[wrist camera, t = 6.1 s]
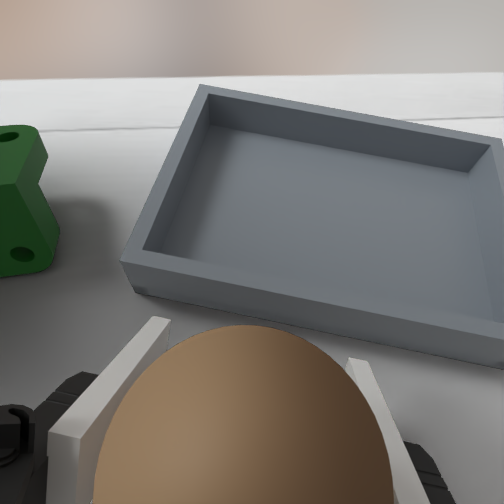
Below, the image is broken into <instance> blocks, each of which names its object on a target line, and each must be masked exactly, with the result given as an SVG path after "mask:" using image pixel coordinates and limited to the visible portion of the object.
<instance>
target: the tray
mask: <svg viewBox="0 0 504 504" xmlns="http://www.w3.org/2000/svg"><path fill="white" fill-rule="evenodd" d="M119 261H120V263H121V265H122V267H123V269H124V271H125V273H126V275H127V277H128V279H129V281H130V283H131V285H132V287H133V289H134V291H135V292H136V293H141V294H146V295H151V296H155V297H160V298H165V299H170V300H174V301H179V302H184V303H189V304H193V305H198V306H203V307H208V308H212V309H217V310H222V311H227V312H232V313H236V314H241V315H246V316H251V317H255V318H260V319H265V320H270V321H274V322H279V323H284V324H289V325H294V326H298V327H303V328H308V329H313V330H317V331H322V332H327V333H332V334H336V335H341V336H346V337H351V338H356V339H360V340H365V341H370V342H375V343H379V344H384V345H389V346H394V347H398V348H403V349H408V350H413V351H418V352H422V353H427V354H432V355H437V356H441V357H446V358H451V359H456V360H460V361H465V362H470V363H475V364H480V365H484V366H489V367H494V368H499V369H503V370H504V147H503V143H502V139H500V138H494V137H489V136H483V135H478V134H472V133H467V132H461V131H456V130H450V129H445V128H439V127H434V126H428V125H423V124H417V123H412V122H406V121H401V120H395V119H390V118H384V117H379V116H373V115H368V114H362V113H357V112H351V111H346V110H340V109H335V108H329V107H324V106H318V105H313V104H307V103H302V102H296V101H291V100H285V99H280V98H274V97H269V96H263V95H258V94H252V93H247V92H241V91H236V90H230V89H225V88H219V87H214V86H208V85H203V84H200V85H199V87H198V89H197V91H196V94H195V96H194V98H193V100H192V102H191V105H190V107H189V109H188V111H187V113H186V116H185V118H184V120H183V122H182V124H181V126H180V129H179V131H178V133H177V135H176V137H175V140H174V142H173V144H172V146H171V148H170V151H169V153H168V155H167V157H166V159H165V161H164V164H163V166H162V168H161V170H160V172H159V175H158V177H157V179H156V181H155V183H154V186H153V188H152V190H151V192H150V194H149V196H148V199H147V201H146V203H145V205H144V207H143V210H142V212H141V214H140V216H139V218H138V221H137V223H136V225H135V227H134V229H133V232H132V234H131V236H130V238H129V240H128V242H127V245H126V247H125V249H124V251H123V253H122V256H121V258H120V260H119Z"/></svg>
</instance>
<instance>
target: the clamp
mask: <svg viewBox="0 0 504 504" xmlns="http://www.w3.org/2000/svg"><path fill="white" fill-rule="evenodd" d="M47 159H48V154H47V151H46V149H45V147H44V144H43V142H42V140H41V137H40V135H39V133H38V130H37V129H36V128H34V127H32V126H28V125H8V126H0V277H5V276H13V275H20V274H28V273H35V272H40V271H42V270H45V269H46V268H48V267H49V266H50V265H51V263H52V261H53V257H54V253H55V249H56V246H57V242H58V238H59V234H60V229H59V226H58V224H57V222H56V220H55V218H54V216H53V214H52V211H51V209H50V207H49V205H48V203H47V201H46V199H45V197H44V195H43V193H42V191H41V189H40V187H39V185H38V182H39V180H40V177H41V175H42V172H43V169H44V167H45V164H46V161H47Z"/></svg>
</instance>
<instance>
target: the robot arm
mask: <svg viewBox="0 0 504 504" xmlns="http://www.w3.org/2000/svg"><path fill="white" fill-rule="evenodd" d="M170 324H171V319H166V318H162V317H157V316H152V317H151V318H150V320H149V321H148V322H147V323H146V324H145V325H144V326H143V327H142V328H141V329H140V331H139V332H138V333H137V334H136V335H135V336H134V337H133V338H132V339H131V340H130V342H129V343H128V344H127V345H126V346H125V347H124V348H123V349H122V350H121V351H120V353H119V354H118V355H117V356H116V357H115V358H114V359H113V360H112V361H111V363H110V364H109V365H108V366H107V367H106V368H105V369H104V370H103V371H102V372H101V374H100V375H96V374H91V373H87V372H80V373H78V374H76V375H74V376H72V377H70V378H68V379H66V380H65V381H64V382H63V383H62V384H61V385H60V386H59V387H58V388H57V389H56V391H55V392H53V393H52V394H51V395H50V396H49V397H48V398H47V399H46V401H44V402H42V403H41V404H40V405H39V406H38V407H37V408H36V409H35V410H34V411H33V410H32V409H30V408H28V407H26V406H24V405H14V404H10V405H2V406H0V504H90V502H91V500H92V499H93V491H94V478H95V473H96V468H97V463H98V457H99V454H100V450H101V447H102V444H103V441H104V437H105V434H106V432H107V430H108V427H109V425H110V423H111V420H112V418H113V416H114V414H115V412H116V410H117V408H118V407H119V405H120V403H121V401H122V399H123V398H124V396H125V395H126V393H127V392H128V390H129V389H130V388H131V386H132V385H133V384H134V382H135V381H136V380H137V379H138V377H139V376H140V375H141V374H142V373H143V372H144V371H145V370H146V369H147V368H148V366H150V365H151V364H152V363H153V362H154V361H155V360H156V359H158V358H159V357H160V356H161V355H162V354H163V353H165V352H166V351H167V345H168V338H169V331H170ZM345 372H346V373H347V374H348V375H349V376H350V377H351V379H352V380H353V381H354V382H355V383H356V385H357V386H358V388H359V389H360V391H361V392H362V394H363V395H364V397H365V398H366V400H367V402H368V404H369V405H370V407H371V409H372V411H373V413H374V415H375V417H376V420H377V422H378V424H379V427H380V429H381V432H382V434H383V438H384V441H385V445H386V448H387V452H388V455H389V461H390V466H391V472H392V478H393V493H394V504H456V503H455V501H454V499H453V497H452V495H451V493H450V491H448V487H447V486H446V484H445V482H444V480H443V478H441V474H440V472H439V470H438V468H437V466H436V464H435V462H434V460H433V459H432V458H431V457H430V456H429V455H428V453H427V452H426V451H425V450H424V449H423V448H422V447H421V446H420V445H418V444H413V443H409V442H404V441H403V440H402V438H401V436H400V434H399V431H398V429H397V427H396V425H395V422H394V420H393V418H392V415H391V413H390V411H389V409H388V406H387V404H386V402H385V400H384V397H383V395H382V393H381V390H380V388H379V386H378V384H377V381H376V379H375V377H374V375H373V372H372V370H371V368H370V365H369V363H368V361H364V360H360V359H355V358H350V357H348V361H347V365H346V368H345Z"/></svg>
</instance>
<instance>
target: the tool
mask: <svg viewBox="0 0 504 504" xmlns="http://www.w3.org/2000/svg"><path fill="white" fill-rule="evenodd" d="M93 504H394V493H393V478H392V472H391V466H390V461H389V455H388V452H387V448H386V445H385V441H384V438H383V434H382V432H381V429H380V427H379V424H378V422H377V420H376V417H375V415H374V413H373V411H372V409H371V407H370V405H369V404H368V402H367V400H366V398H365V397H364V395H363V394H362V392H361V391H360V389H359V388H358V386H357V385H356V383H355V382H354V381H353V380H352V379H351V377H350V376H349V375H348V374H347V373H346V372H345V370H344V369H343V368H342V367H341V366H340V365H339V364H338V363H336V362H335V361H334V360H333V359H332V358H331V357H330V356H329V355H327V354H326V353H325V352H323V351H322V350H320V349H319V348H318V347H316V346H315V345H313V344H311V343H309V342H308V341H306V340H304V339H302V338H300V337H298V336H295V335H293V334H290V333H288V332H285V331H282V330H278V329H274V328H270V327H263V326H257V325H235V326H226V327H220V328H216V329H212V330H208V331H205V332H202V333H200V334H197V335H194V336H192V337H190V338H188V339H186V340H184V341H182V342H180V343H178V344H177V345H175V346H174V347H172V348H171V349H169V350H168V351H166V352H165V353H163V354H162V355H161V356H160V357H159V358H158V359H156V360H155V361H154V362H153V363H152V364H151V365H150V366H148V368H147V369H146V370H145V371H144V372H143V373H142V374H141V375H140V376H139V377H138V379H137V380H136V381H135V382H134V384H133V385H132V386H131V388H130V389H129V390H128V392H127V393H126V395H125V396H124V398H123V399H122V401H121V403H120V405H119V407H118V408H117V410H116V412H115V414H114V416H113V418H112V420H111V423H110V425H109V427H108V430H107V432H106V434H105V437H104V441H103V444H102V447H101V450H100V454H99V457H98V463H97V468H96V473H95V478H94V491H93Z"/></svg>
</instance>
